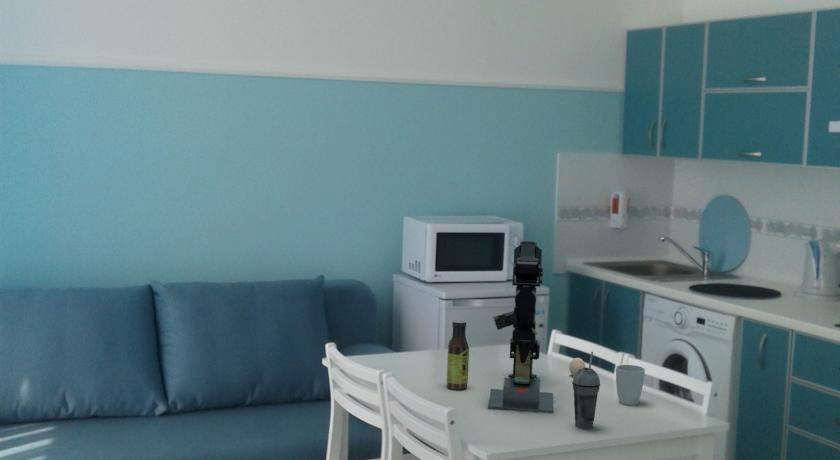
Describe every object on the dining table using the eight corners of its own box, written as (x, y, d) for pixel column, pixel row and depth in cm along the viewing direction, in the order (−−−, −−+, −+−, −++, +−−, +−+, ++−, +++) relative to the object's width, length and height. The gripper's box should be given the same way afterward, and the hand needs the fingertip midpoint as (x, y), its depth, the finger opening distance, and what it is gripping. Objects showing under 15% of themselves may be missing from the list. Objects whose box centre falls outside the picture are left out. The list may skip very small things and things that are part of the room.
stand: (490, 391, 294) (491, 373, 293) (552, 395, 292) (553, 377, 291) (487, 409, 276) (488, 389, 275) (553, 413, 274) (554, 393, 273)
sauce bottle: (465, 391, 293) (468, 324, 291) (444, 389, 294) (446, 323, 292) (469, 385, 300) (471, 320, 297) (448, 383, 301) (450, 318, 299)
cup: (644, 400, 290) (646, 366, 288) (641, 408, 282) (643, 373, 281) (616, 397, 292) (618, 363, 291) (612, 404, 285) (614, 369, 283)
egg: (573, 378, 311) (574, 360, 311) (565, 374, 316) (566, 356, 315) (588, 377, 313) (589, 359, 312) (580, 373, 318) (581, 355, 317)
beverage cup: (567, 422, 267) (570, 348, 264) (594, 422, 267) (598, 348, 265) (573, 430, 259) (577, 354, 257) (601, 430, 260) (605, 355, 258)
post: (514, 379, 286) (516, 344, 284) (529, 380, 285) (530, 345, 284) (514, 383, 281) (516, 348, 280) (529, 383, 281) (530, 348, 280)
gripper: (497, 296, 291) (495, 349, 293) (495, 308, 272) (492, 365, 274) (536, 298, 290) (534, 351, 291) (536, 311, 271) (533, 367, 273)
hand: (523, 358), depth 282 cm, fingers open, 9 cm apart
